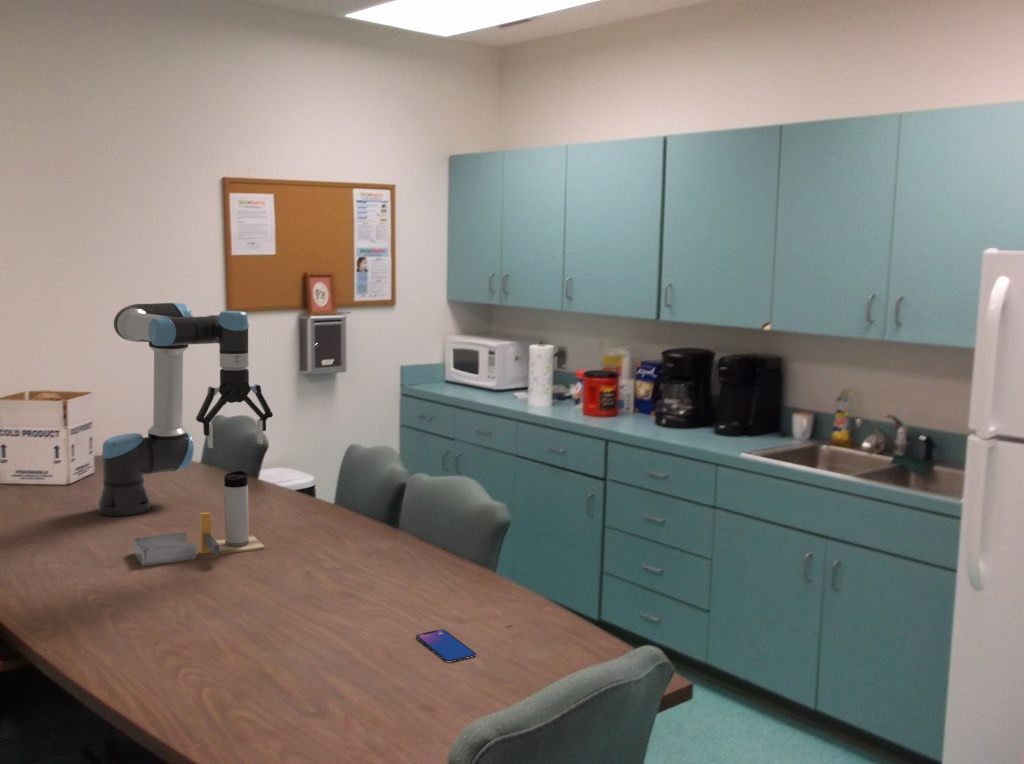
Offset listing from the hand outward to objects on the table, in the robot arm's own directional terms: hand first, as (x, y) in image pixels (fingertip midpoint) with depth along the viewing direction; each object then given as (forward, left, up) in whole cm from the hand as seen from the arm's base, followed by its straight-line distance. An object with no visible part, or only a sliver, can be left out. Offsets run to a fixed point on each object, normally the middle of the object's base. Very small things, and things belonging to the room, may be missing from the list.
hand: (235, 445), depth 258 cm
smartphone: (+87, +20, -29) cm, 94 cm away
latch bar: (+8, -9, -29) cm, 31 cm away
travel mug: (0, 0, -28) cm, 28 cm away
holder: (0, -20, -28) cm, 35 cm away
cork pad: (0, 0, -28) cm, 29 cm away
